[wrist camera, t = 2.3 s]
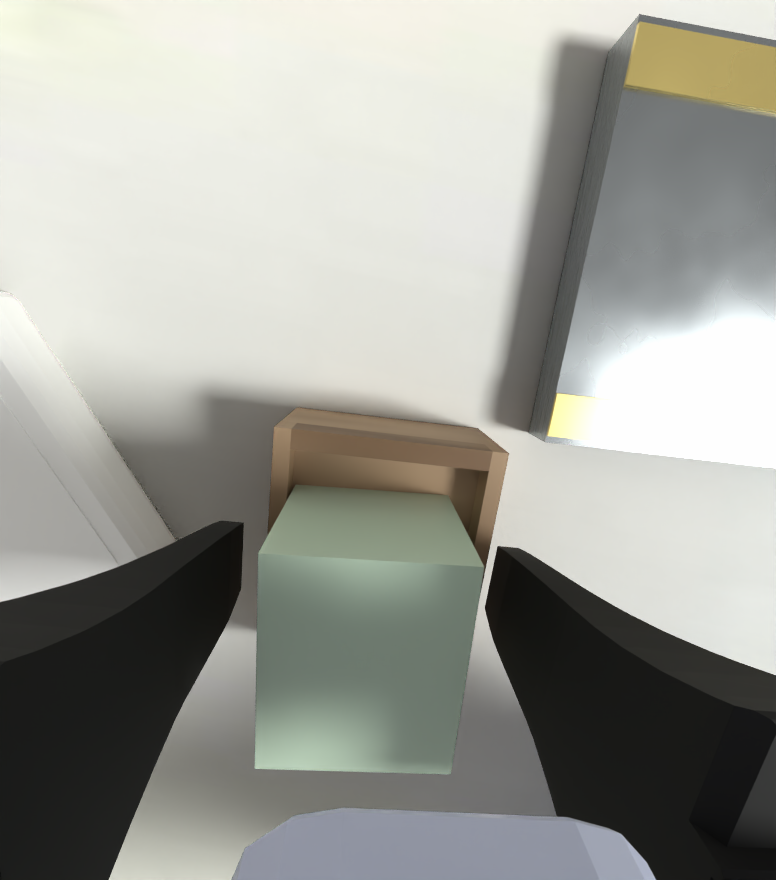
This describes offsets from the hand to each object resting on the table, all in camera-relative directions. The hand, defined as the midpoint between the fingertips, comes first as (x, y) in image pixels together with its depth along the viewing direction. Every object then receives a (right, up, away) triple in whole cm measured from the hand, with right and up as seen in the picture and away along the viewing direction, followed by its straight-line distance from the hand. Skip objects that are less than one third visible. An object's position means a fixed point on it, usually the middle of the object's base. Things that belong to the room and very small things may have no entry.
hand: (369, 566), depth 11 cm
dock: (+10, +8, 0) cm, 13 cm away
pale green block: (0, 0, 0) cm, 0 cm away
